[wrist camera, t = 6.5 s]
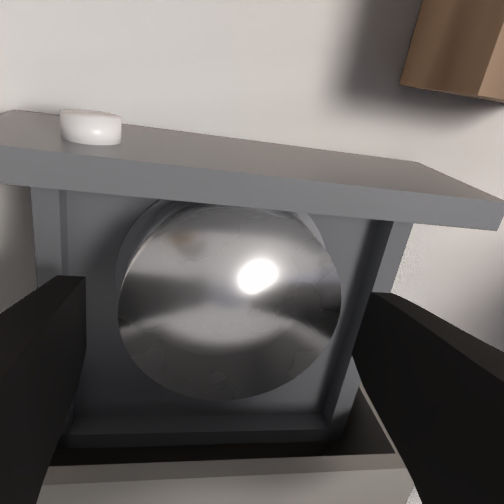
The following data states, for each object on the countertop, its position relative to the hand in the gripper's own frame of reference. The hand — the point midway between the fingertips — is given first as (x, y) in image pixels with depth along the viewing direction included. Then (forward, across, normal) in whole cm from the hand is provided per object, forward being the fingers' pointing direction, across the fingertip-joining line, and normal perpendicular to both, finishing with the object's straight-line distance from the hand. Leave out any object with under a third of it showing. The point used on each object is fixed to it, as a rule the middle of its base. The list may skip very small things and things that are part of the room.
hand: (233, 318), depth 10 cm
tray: (+3, 0, +1) cm, 3 cm away
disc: (+2, 0, 0) cm, 2 cm away
